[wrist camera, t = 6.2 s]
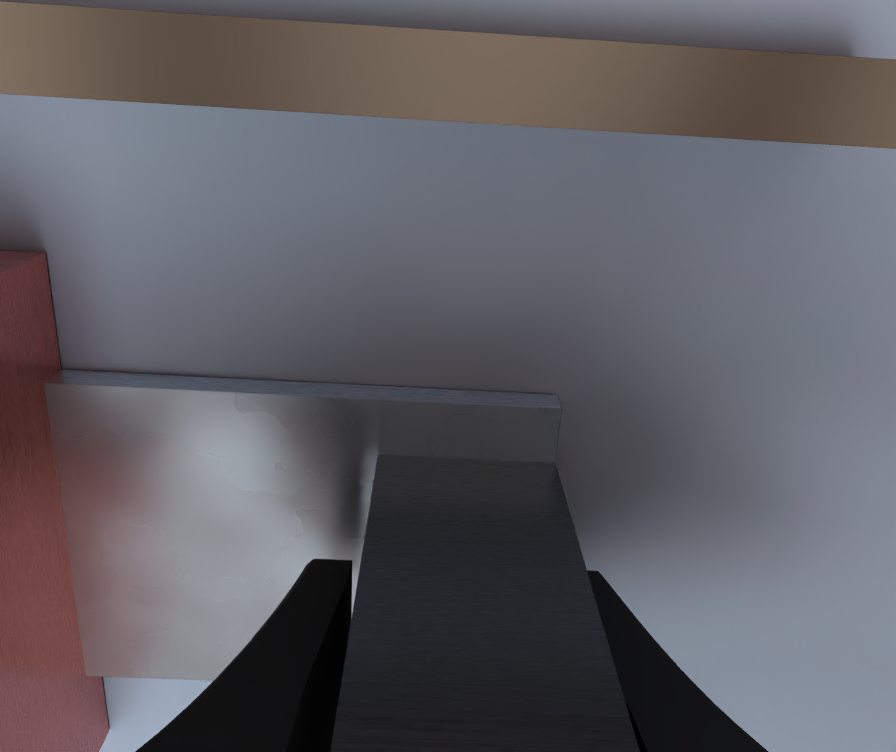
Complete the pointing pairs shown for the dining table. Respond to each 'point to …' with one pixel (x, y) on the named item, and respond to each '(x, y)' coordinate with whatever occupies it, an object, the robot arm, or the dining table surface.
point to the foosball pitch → (445, 75)
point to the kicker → (288, 547)
